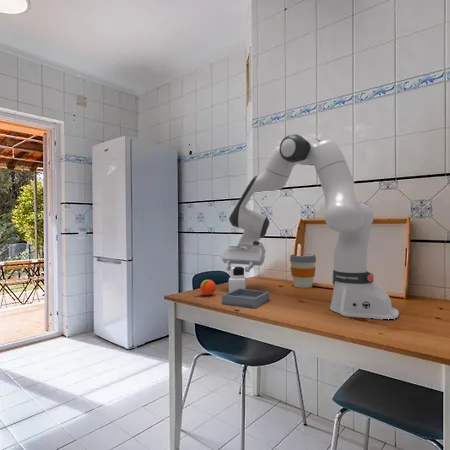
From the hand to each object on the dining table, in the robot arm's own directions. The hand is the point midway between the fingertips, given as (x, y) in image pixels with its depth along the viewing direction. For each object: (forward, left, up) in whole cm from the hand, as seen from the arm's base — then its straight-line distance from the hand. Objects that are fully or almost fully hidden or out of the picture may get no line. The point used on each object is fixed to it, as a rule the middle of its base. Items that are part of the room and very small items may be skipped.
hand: (237, 270), depth 145 cm
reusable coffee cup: (-20, -31, -11) cm, 38 cm away
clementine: (+10, +9, -11) cm, 17 cm away
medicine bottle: (0, 0, -11) cm, 11 cm away
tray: (-10, +11, -10) cm, 18 cm away
